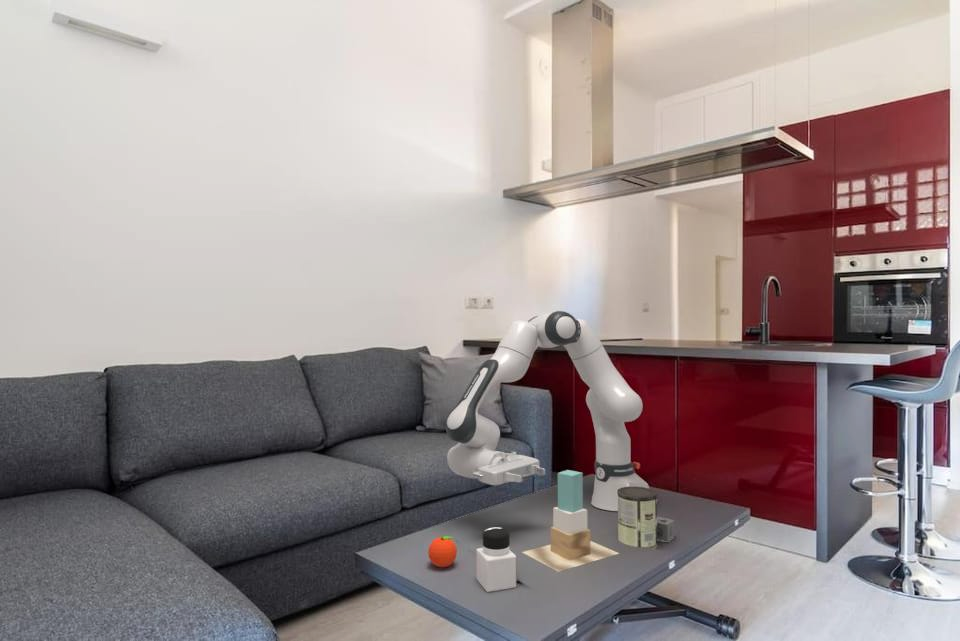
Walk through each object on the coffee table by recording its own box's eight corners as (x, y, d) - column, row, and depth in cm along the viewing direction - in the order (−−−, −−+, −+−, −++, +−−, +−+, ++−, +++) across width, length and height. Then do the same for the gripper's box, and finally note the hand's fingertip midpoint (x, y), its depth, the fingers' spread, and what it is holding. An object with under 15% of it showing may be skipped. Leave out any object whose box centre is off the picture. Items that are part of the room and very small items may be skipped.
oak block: (571, 545, 148) (571, 522, 148) (590, 554, 142) (590, 530, 142) (550, 551, 144) (550, 527, 145) (569, 560, 139) (569, 535, 139)
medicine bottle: (516, 587, 127) (516, 533, 127) (486, 592, 124) (486, 537, 124) (504, 574, 133) (504, 523, 134) (476, 579, 131) (476, 526, 131)
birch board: (580, 541, 155) (580, 536, 155) (619, 558, 143) (619, 553, 143) (521, 556, 144) (521, 552, 144) (558, 576, 132) (558, 571, 132)
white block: (571, 523, 148) (571, 503, 148) (587, 529, 143) (587, 509, 143) (553, 527, 144) (553, 507, 145) (569, 534, 139) (569, 514, 140)
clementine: (451, 557, 144) (451, 528, 144) (465, 566, 138) (465, 537, 138) (423, 564, 139) (423, 535, 140) (437, 574, 134) (437, 544, 134)
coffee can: (628, 534, 160) (628, 484, 160) (664, 543, 153) (663, 491, 153) (610, 545, 152) (610, 491, 152) (646, 555, 145) (646, 499, 145)
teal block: (567, 504, 147) (567, 469, 147) (582, 508, 144) (582, 472, 144) (557, 509, 144) (557, 473, 144) (572, 512, 140) (572, 476, 141)
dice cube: (667, 543, 153) (667, 524, 153) (649, 539, 156) (649, 521, 156) (674, 538, 157) (674, 520, 157) (657, 534, 160) (656, 516, 160)
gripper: (468, 462, 153) (508, 470, 144) (515, 450, 168) (554, 457, 159) (468, 485, 153) (508, 495, 144) (515, 471, 168) (554, 480, 159)
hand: (533, 475), depth 151 cm, fingers open, 8 cm apart
